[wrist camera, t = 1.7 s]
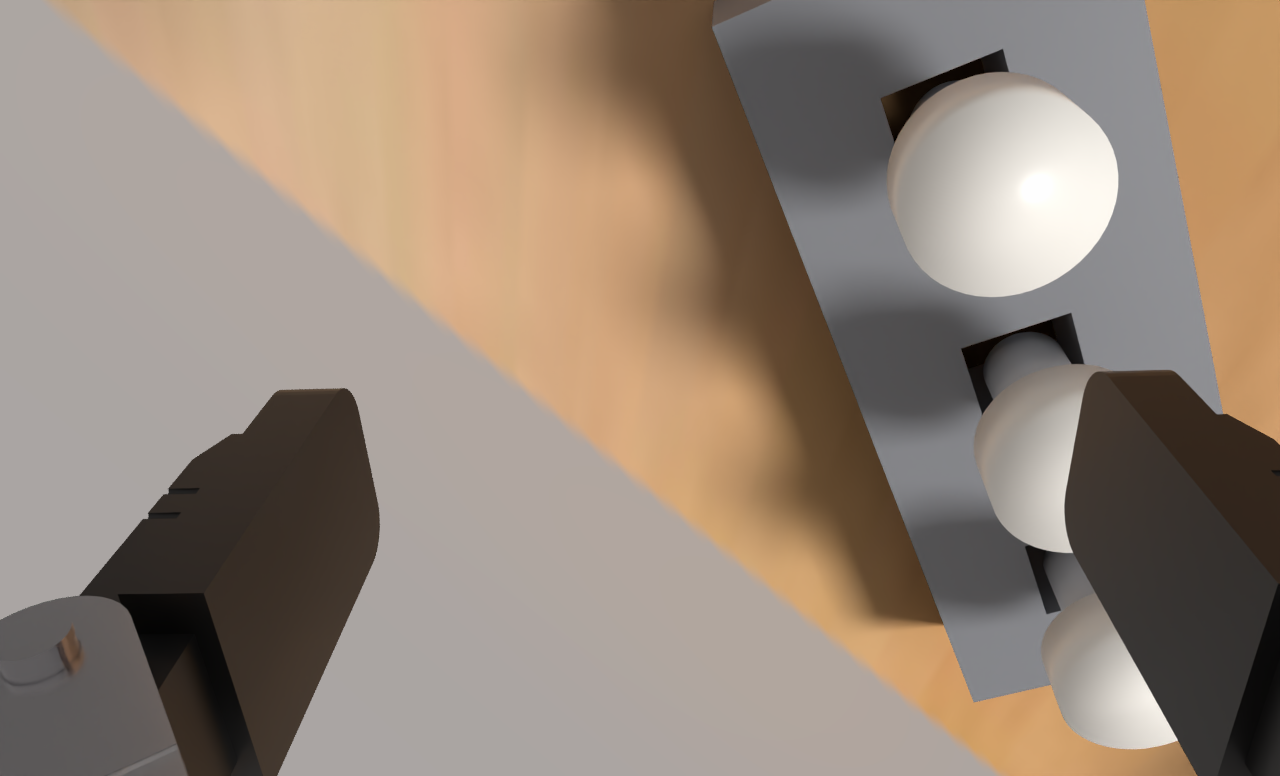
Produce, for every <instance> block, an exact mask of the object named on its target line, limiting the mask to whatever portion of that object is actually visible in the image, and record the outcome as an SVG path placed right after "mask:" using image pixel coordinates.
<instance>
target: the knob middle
mask: <svg viewBox="0 0 1280 776" xmlns="http://www.w3.org/2000/svg"><path fill="white" fill-rule="evenodd" d="M1098 371H1112V370H1109V369H1106V368H1103V367H1099V366H1094V365H1086V364H1071V362H1070V361H1069V359H1068V357H1067V356H1066V354H1065V353H1064V351H1063V349H1062V348H1061V346H1060V345H1059V344H1058V342H1056V341H1055V340H1054V339H1053V338H1051V337H1050V336H1047V335H1045V334H1042V333H1037V332H1023V333H1018V334H1014V335H1012V336H1009V337H1007V338H1005V339H1003V340H1002V341H1000V342H999V343H998V344H997V345H995V346H994V348H993V349H992V350H991V351H990V352H989V354H988V356H987V357H986V360H985V363H984V367H983V375H984V380H985V382H986V385H987V387H988V389H989V391H990V394H991V396H992V398H993V401H992V402H991V403H990V405H989V406H988V407H987V408H986V410H985V412H984V413H983V415H982V417H981V418H980V421H979V423H978V426H977V428H976V432H975V436H974V456H975V460H976V464H977V467H978V470H979V472H980V475H981V478H982V480H983V483H984V486H985V488H986V491H987V494H988V496H989V499H990V502H991V504H992V507H993V509H994V512H995V514H996V516H997V518H998V519H999V521H1000V522H1001V524H1002V525H1003V526H1004V527H1005V528H1006V529H1007V530H1008V531H1009V532H1010V533H1011V534H1012V535H1013V536H1015V537H1016V538H1018V539H1019V540H1021V541H1023V542H1024V543H1027V544H1029V545H1031V546H1033V547H1036V548H1040V549H1043V550H1047V551H1053V552H1061V553H1073V551H1072V549H1071V546H1070V544H1069V540H1068V537H1067V532H1066V525H1065V515H1064V503H1065V493H1066V487H1067V482H1068V476H1069V471H1070V465H1071V459H1072V454H1073V448H1074V443H1075V437H1076V432H1077V426H1078V421H1079V415H1080V409H1081V404H1082V398H1083V394H1084V390H1085V387H1086V384H1087V382H1088V380H1089V378H1090V377H1091V375H1092V374H1094V373H1095V372H1098Z"/></svg>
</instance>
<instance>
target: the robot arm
mask: <svg viewBox="0 0 1280 776" xmlns="http://www.w3.org/2000/svg"><path fill="white" fill-rule="evenodd" d="M148 514H149V517H148V519H143V520H142V521H141V522H140V523H139V525H138V526H137V527H136V528H135V530H134V531H133V532H132V533H131V534H130V535H129V537H128V538H127V539H126V540H125V542H124V543H123V544H122V545H121V546H120V547H119V549H118V550H117V551H116V552H115V554H114V555H113V556H112V557H111V558H110V559H109V561H108V562H107V563H106V564H105V566H104V567H103V568H102V569H101V570H100V572H99V573H98V574H97V575H96V576H95V578H94V579H93V580H92V581H91V583H90V584H89V585H88V586H87V587H86V588H85V590H84V591H83V592H82V593H81V594H80V596H73V597H66V598H60V599H55V600H51V601H47V602H43V603H40V604H37V605H34V606H31V607H28V608H25V609H23V610H21V611H18V612H16V613H13V614H11V615H9V616H7V617H5V618H3V619H1V620H0V776H277V775H278V772H279V770H280V768H281V766H282V764H283V761H284V759H285V757H286V755H287V752H288V750H289V748H290V746H291V744H292V741H293V739H294V737H295V735H296V733H297V730H298V728H299V726H300V724H301V721H302V719H303V717H304V714H305V712H306V710H307V708H308V706H309V704H310V701H311V699H312V697H313V695H314V693H315V690H316V688H317V686H318V684H319V681H320V679H321V677H322V675H323V673H324V670H325V668H326V666H327V663H328V661H329V659H330V657H331V655H332V653H333V650H334V648H335V646H336V644H337V642H338V639H339V637H340V635H341V632H342V630H343V628H344V626H345V624H346V621H347V619H348V617H349V615H350V613H351V610H352V608H353V606H354V604H355V601H356V599H357V597H358V595H359V593H360V590H361V588H362V586H363V584H364V582H365V579H366V577H367V575H368V573H369V570H370V568H371V566H372V564H373V561H374V559H375V556H376V552H377V547H378V541H379V530H380V523H379V521H380V520H379V507H378V502H377V497H376V492H375V487H374V482H373V478H372V473H371V468H370V463H369V458H368V454H367V449H366V444H365V439H364V435H363V430H362V425H361V420H360V415H359V411H358V407H357V404H356V401H355V399H354V397H353V395H352V393H351V392H350V391H348V389H345V388H342V389H341V388H340V389H304V390H303V389H299V390H279V391H277V392H276V393H275V394H274V395H273V396H272V397H271V398H270V400H269V401H268V402H267V403H266V405H265V406H264V407H263V408H262V410H261V411H260V412H259V414H258V415H257V416H256V417H255V419H254V420H253V421H252V423H251V424H250V425H249V426H248V428H247V429H246V430H245V432H244V433H243V434H231V435H230V436H228V437H227V438H225V439H224V440H222V441H220V442H219V443H217V444H216V445H214V446H213V447H211V448H210V449H208V450H207V451H205V452H203V453H202V454H200V455H199V456H197V457H196V458H194V459H193V460H192V461H191V462H190V463H189V464H188V466H187V467H186V468H185V469H184V470H183V472H182V473H181V474H180V475H179V476H178V478H177V479H176V480H175V481H174V483H173V484H172V485H171V486H170V487H169V493H168V494H165V495H163V496H162V497H161V498H160V499H159V501H158V502H157V503H156V504H155V505H154V507H153V508H152V509H151V510H150V511H149V513H148ZM1064 515H1065V525H1066V532H1067V537H1068V540H1069V544H1070V546H1071V549H1072V551H1073V553H1074V555H1075V557H1076V559H1077V561H1078V563H1079V564H1080V566H1081V568H1082V570H1083V572H1084V573H1085V575H1086V577H1087V579H1088V580H1089V582H1090V584H1091V586H1092V588H1093V589H1094V591H1095V593H1096V595H1097V597H1098V598H1099V600H1100V602H1101V604H1102V606H1103V607H1104V609H1105V611H1106V613H1107V614H1108V616H1109V618H1110V620H1111V622H1112V623H1113V625H1114V627H1115V629H1116V631H1117V632H1118V634H1119V636H1120V638H1121V639H1122V641H1123V643H1124V645H1125V647H1126V648H1127V650H1128V652H1129V654H1130V656H1131V657H1132V659H1133V661H1134V663H1135V664H1136V666H1137V668H1138V670H1139V672H1140V673H1141V675H1142V677H1143V679H1144V681H1145V682H1146V684H1147V686H1148V688H1149V690H1150V691H1151V693H1152V695H1153V697H1154V698H1155V700H1156V702H1157V704H1158V706H1159V707H1160V709H1161V711H1162V713H1163V715H1164V716H1165V718H1166V720H1167V722H1168V723H1169V725H1170V727H1171V729H1172V731H1173V732H1174V734H1175V736H1176V738H1177V740H1178V741H1179V743H1180V745H1181V747H1182V748H1183V750H1184V752H1185V754H1186V756H1187V757H1188V759H1189V761H1190V763H1191V765H1192V766H1193V768H1194V770H1195V772H1196V774H1197V775H1198V776H1280V445H1279V444H1278V443H1277V442H1276V441H1275V440H1274V439H1272V438H1270V437H1269V436H1267V435H1265V434H1263V433H1261V432H1259V431H1257V430H1256V429H1254V428H1252V427H1250V426H1248V425H1246V424H1244V423H1243V422H1241V421H1239V420H1237V419H1235V418H1233V417H1231V416H1230V415H1228V414H1216V413H1215V412H1214V411H1213V410H1212V409H1211V408H1210V407H1209V406H1208V405H1207V404H1206V403H1205V402H1204V401H1203V399H1202V398H1201V397H1200V396H1199V395H1198V394H1197V393H1196V392H1195V391H1194V390H1193V389H1192V388H1191V387H1190V386H1189V385H1188V384H1187V383H1186V382H1185V381H1184V380H1183V379H1182V378H1181V377H1180V376H1179V375H1178V374H1177V373H1176V372H1174V371H1172V370H1134V371H1098V372H1095V373H1094V374H1092V375H1091V377H1090V378H1089V380H1088V382H1087V384H1086V387H1085V390H1084V394H1083V398H1082V404H1081V409H1080V415H1079V421H1078V426H1077V432H1076V437H1075V443H1074V448H1073V454H1072V459H1071V465H1070V471H1069V476H1068V482H1067V487H1066V493H1065V503H1064Z"/></svg>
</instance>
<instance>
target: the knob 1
mask: <svg viewBox="0 0 1280 776" xmlns="http://www.w3.org/2000/svg"><path fill="white" fill-rule="evenodd" d="M886 185H887V194H888V199H889V203H890V207H891V210H892V212H893V215H894V217H895V220H896V222H897V225H898V227H899V230H900V232H901V235H902V237H903V240H904V242H905V244H906V247H907V249H908V251H909V253H910V254H911V256H912V258H913V259H914V261H915V262H916V263H917V264H918V265H919V267H920V268H921V269H922V270H923V271H924V272H925V273H926V274H928V275H929V276H930V277H931V278H932V279H934V280H935V281H937V282H938V283H940V284H941V285H944V286H946V287H948V288H950V289H952V290H955V291H958V292H961V293H964V294H968V295H974V296H981V297H1004V296H1010V295H1017V294H1021V293H1024V292H1028V291H1032V290H1034V289H1037V288H1039V287H1042V286H1044V285H1046V284H1048V283H1050V282H1052V281H1054V280H1056V279H1058V278H1059V277H1061V276H1062V275H1064V274H1065V273H1067V272H1068V271H1070V270H1071V269H1072V268H1073V267H1074V266H1076V265H1077V264H1078V263H1079V262H1080V261H1081V260H1082V259H1083V258H1084V257H1085V256H1086V255H1087V254H1088V253H1089V252H1090V251H1091V250H1092V248H1093V247H1094V246H1095V244H1096V243H1097V242H1098V241H1099V239H1100V237H1101V236H1102V234H1103V232H1104V231H1105V229H1106V227H1107V225H1108V223H1109V221H1110V218H1111V216H1112V214H1113V210H1114V207H1115V203H1116V199H1117V192H1118V168H1117V161H1116V158H1115V154H1114V151H1113V148H1112V146H1111V144H1110V142H1109V140H1108V138H1107V136H1106V135H1105V133H1104V132H1103V130H1102V129H1101V128H1100V126H1099V125H1098V124H1097V123H1096V122H1095V121H1094V120H1093V119H1092V118H1091V117H1090V116H1089V115H1088V114H1086V113H1085V112H1084V111H1083V110H1082V109H1081V108H1079V107H1078V106H1077V105H1076V104H1075V103H1074V102H1072V101H1071V100H1070V99H1069V98H1068V97H1066V96H1065V95H1064V94H1063V93H1062V92H1060V91H1059V90H1058V89H1056V88H1055V87H1054V86H1052V85H1050V84H1048V83H1047V82H1045V81H1043V80H1041V79H1038V78H1035V77H1032V76H1029V75H1025V74H1020V73H1013V72H993V73H985V74H980V75H975V76H971V77H968V78H965V79H962V80H955V81H949V82H945V83H942V84H940V85H938V86H936V87H934V88H932V89H931V90H929V91H928V92H927V93H926V94H925V95H924V96H923V97H922V98H921V99H920V100H919V101H918V102H917V104H916V105H915V107H914V109H913V111H912V113H911V116H910V118H909V120H908V121H907V122H906V123H905V125H904V127H903V128H902V130H901V132H900V133H899V135H898V137H897V139H896V141H895V144H894V146H893V148H892V152H891V155H890V158H889V163H888V169H887V184H886Z"/></svg>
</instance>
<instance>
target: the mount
mask: <svg viewBox="0 0 1280 776" xmlns="http://www.w3.org/2000/svg"><path fill="white" fill-rule="evenodd" d="M712 29H713V32H714V34H715V37H716V40H717V42H718V45H719V47H720V50H721V52H722V55H723V58H724V60H725V63H726V65H727V68H728V70H729V73H730V76H731V78H732V81H733V83H734V86H735V88H736V91H737V94H738V96H739V99H740V101H741V104H742V106H743V109H744V112H745V114H746V117H747V119H748V122H749V124H750V127H751V130H752V132H753V135H754V137H755V140H756V143H757V145H758V148H759V150H760V153H761V155H762V158H763V161H764V163H765V166H766V168H767V171H768V173H769V176H770V179H771V181H772V184H773V186H774V189H775V191H776V194H777V197H778V199H779V202H780V204H781V207H782V209H783V212H784V215H785V217H786V220H787V222H788V225H789V228H790V230H791V233H792V235H793V238H794V240H795V243H796V246H797V248H798V251H799V253H800V256H801V258H802V261H803V264H804V266H805V269H806V271H807V274H808V276H809V279H810V282H811V284H812V287H813V289H814V292H815V294H816V297H817V300H818V302H819V305H820V307H821V310H822V313H823V315H824V318H825V320H826V323H827V325H828V328H829V331H830V333H831V336H832V338H833V341H834V343H835V346H836V349H837V351H838V354H839V356H840V359H841V361H842V364H843V367H844V369H845V372H846V374H847V377H848V379H849V382H850V385H851V387H852V390H853V392H854V395H855V397H856V400H857V403H858V405H859V408H860V410H861V413H862V416H863V418H864V421H865V423H866V426H867V428H868V431H869V434H870V436H871V439H872V441H873V444H874V446H875V449H876V452H877V454H878V457H879V459H880V462H881V464H882V467H883V470H884V472H885V475H886V477H887V480H888V482H889V485H890V488H891V490H892V493H893V495H894V498H895V501H896V503H897V506H898V508H899V511H900V513H901V516H902V519H903V521H904V524H905V526H906V529H907V531H908V534H909V537H910V539H911V542H912V544H913V547H914V549H915V552H916V555H917V557H918V560H919V562H920V565H921V567H922V570H923V573H924V575H925V578H926V580H927V583H928V586H929V588H930V591H931V593H932V596H933V598H934V601H935V604H936V606H937V609H938V611H939V614H940V616H941V619H942V622H943V624H944V627H945V629H946V632H947V634H948V637H949V640H950V642H951V645H952V647H953V650H954V652H955V655H956V658H957V660H958V663H959V665H960V668H961V670H962V673H963V676H964V678H965V681H966V683H967V686H968V689H969V691H970V694H971V696H972V699H973V701H974V702H978V701H982V700H986V699H991V698H995V697H999V696H1004V695H1008V694H1013V693H1017V692H1021V691H1026V690H1030V689H1034V688H1039V687H1043V686H1047V685H1051V683H1050V681H1049V678H1048V675H1047V673H1046V670H1045V667H1044V664H1043V661H1042V657H1041V645H1042V640H1043V637H1044V634H1045V632H1046V630H1047V628H1048V626H1049V625H1050V624H1051V622H1052V621H1053V620H1054V619H1055V618H1056V616H1057V615H1058V614H1059V613H1061V612H1062V611H1061V609H1060V606H1059V604H1058V601H1057V599H1056V596H1055V594H1054V592H1053V589H1052V587H1051V584H1050V582H1049V579H1048V577H1047V575H1046V572H1045V570H1044V567H1043V558H1044V555H1045V552H1046V550H1043V549H1040V548H1036V547H1033V546H1031V545H1029V544H1027V543H1024V542H1023V541H1021V540H1019V539H1018V538H1016V537H1015V536H1013V535H1012V534H1011V533H1010V532H1009V531H1008V530H1007V529H1006V528H1005V527H1004V526H1003V525H1002V524H1001V522H1000V521H999V519H998V518H997V516H996V514H995V512H994V509H993V507H992V504H991V502H990V499H989V496H988V494H987V491H986V488H985V486H984V483H983V480H982V478H981V475H980V472H979V470H978V467H977V464H976V460H975V456H974V436H975V432H976V428H977V426H978V423H979V421H980V418H981V417H982V415H983V413H984V412H985V410H986V408H987V407H988V406H989V405H990V403H991V402H992V401H993V398H992V396H991V394H990V391H989V389H988V387H987V385H986V382H985V380H984V375H983V367H984V364H981V365H978V366H975V367H972V368H969V369H967V366H966V363H965V360H964V357H963V353H962V350H961V348H964V347H967V346H970V345H973V344H977V343H980V342H983V341H986V340H989V339H992V338H995V337H998V336H1001V335H1004V334H1007V333H1010V332H1013V331H1016V330H1019V329H1023V328H1026V327H1029V326H1032V325H1035V324H1038V323H1041V322H1044V321H1047V320H1050V319H1051V321H1052V324H1053V328H1054V332H1055V335H1056V339H1057V340H1056V342H1058V344H1059V345H1060V346H1061V348H1062V349H1063V351H1064V353H1065V354H1066V356H1067V357H1068V359H1069V361H1070V362H1071V364H1086V365H1094V366H1099V367H1103V368H1106V369H1109V370H1112V371H1134V370H1172V371H1174V372H1176V373H1177V374H1178V375H1179V376H1180V377H1181V378H1182V379H1183V380H1184V381H1185V382H1186V383H1187V384H1188V385H1189V386H1190V387H1191V388H1192V389H1193V390H1194V391H1195V392H1196V393H1197V394H1198V395H1199V396H1200V397H1201V398H1202V399H1203V401H1204V402H1205V403H1206V404H1207V405H1208V406H1209V407H1210V408H1211V409H1212V410H1213V411H1214V412H1215V413H1216V414H1223V411H1222V406H1221V401H1220V396H1219V390H1218V385H1217V380H1216V375H1215V369H1214V364H1213V359H1212V353H1211V348H1210V343H1209V338H1208V332H1207V327H1206V322H1205V317H1204V311H1203V306H1202V301H1201V295H1200V290H1199V285H1198V280H1197V274H1196V269H1195V264H1194V259H1193V253H1192V248H1191V243H1190V238H1189V232H1188V227H1187V222H1186V216H1185V211H1184V206H1183V201H1182V195H1181V190H1180V185H1179V180H1178V174H1177V169H1176V164H1175V159H1174V153H1173V148H1172V143H1171V137H1170V132H1169V127H1168V122H1167V116H1166V111H1165V106H1164V101H1163V95H1162V90H1161V85H1160V79H1159V74H1158V69H1157V64H1156V58H1155V53H1154V48H1153V43H1152V37H1151V32H1150V27H1149V22H1148V16H1147V11H1146V6H1145V0H716V1H714V7H713V18H712ZM979 58H981V62H982V65H983V69H984V73H993V72H1013V73H1020V74H1025V75H1029V76H1032V77H1035V78H1038V79H1041V80H1043V81H1045V82H1047V83H1048V84H1050V85H1052V86H1054V87H1055V88H1056V89H1058V90H1059V91H1060V92H1062V93H1063V94H1064V95H1065V96H1066V97H1068V98H1069V99H1070V100H1071V101H1072V102H1074V103H1075V104H1076V105H1077V106H1078V107H1079V108H1081V109H1082V110H1083V111H1084V112H1085V113H1086V114H1088V115H1089V116H1090V117H1091V118H1092V119H1093V120H1094V121H1095V122H1096V123H1097V124H1098V125H1099V126H1100V128H1101V129H1102V130H1103V132H1104V133H1105V135H1106V136H1107V138H1108V140H1109V142H1110V144H1111V146H1112V148H1113V151H1114V154H1115V158H1116V161H1117V168H1118V192H1117V199H1116V203H1115V207H1114V210H1113V214H1112V216H1111V218H1110V221H1109V223H1108V225H1107V227H1106V229H1105V231H1104V232H1103V234H1102V236H1101V237H1100V239H1099V241H1098V242H1097V243H1096V244H1095V246H1094V247H1093V248H1092V250H1091V251H1090V252H1089V253H1088V254H1087V255H1086V256H1085V257H1084V258H1083V259H1082V260H1081V261H1080V262H1079V263H1078V264H1077V265H1076V266H1074V267H1073V268H1072V269H1071V270H1070V271H1068V272H1067V273H1065V274H1064V275H1062V276H1061V277H1059V278H1058V279H1056V280H1054V281H1052V282H1050V283H1048V284H1046V285H1044V286H1042V287H1039V288H1037V289H1034V290H1032V291H1028V292H1024V293H1021V294H1017V295H1010V296H1004V297H981V296H974V295H968V294H964V293H961V292H958V291H955V290H952V289H950V288H948V287H946V286H944V285H941V284H940V283H938V282H937V281H935V280H934V279H932V278H931V277H930V276H929V275H928V274H926V273H925V272H924V271H923V270H922V269H921V268H920V267H919V265H918V264H917V263H916V262H915V261H914V259H913V258H912V256H911V254H910V253H909V251H908V249H907V247H906V244H905V242H904V240H903V237H902V235H901V232H900V230H899V227H898V225H897V222H896V220H895V217H894V215H893V212H892V210H891V207H890V203H889V199H888V194H887V185H886V184H887V169H888V163H889V158H890V155H891V152H892V148H893V146H894V144H895V142H894V139H893V136H892V133H891V130H890V127H889V124H888V121H887V118H886V114H885V111H884V108H883V105H882V102H881V99H880V98H882V97H885V96H887V95H890V94H892V93H895V92H897V91H899V90H902V89H904V88H907V87H909V86H912V85H914V84H917V83H919V82H922V81H924V80H927V79H929V78H932V77H934V76H937V75H939V74H942V73H944V72H947V71H949V70H952V69H954V68H957V67H959V66H962V65H964V64H967V63H969V62H971V61H974V60H976V59H979Z"/></svg>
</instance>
